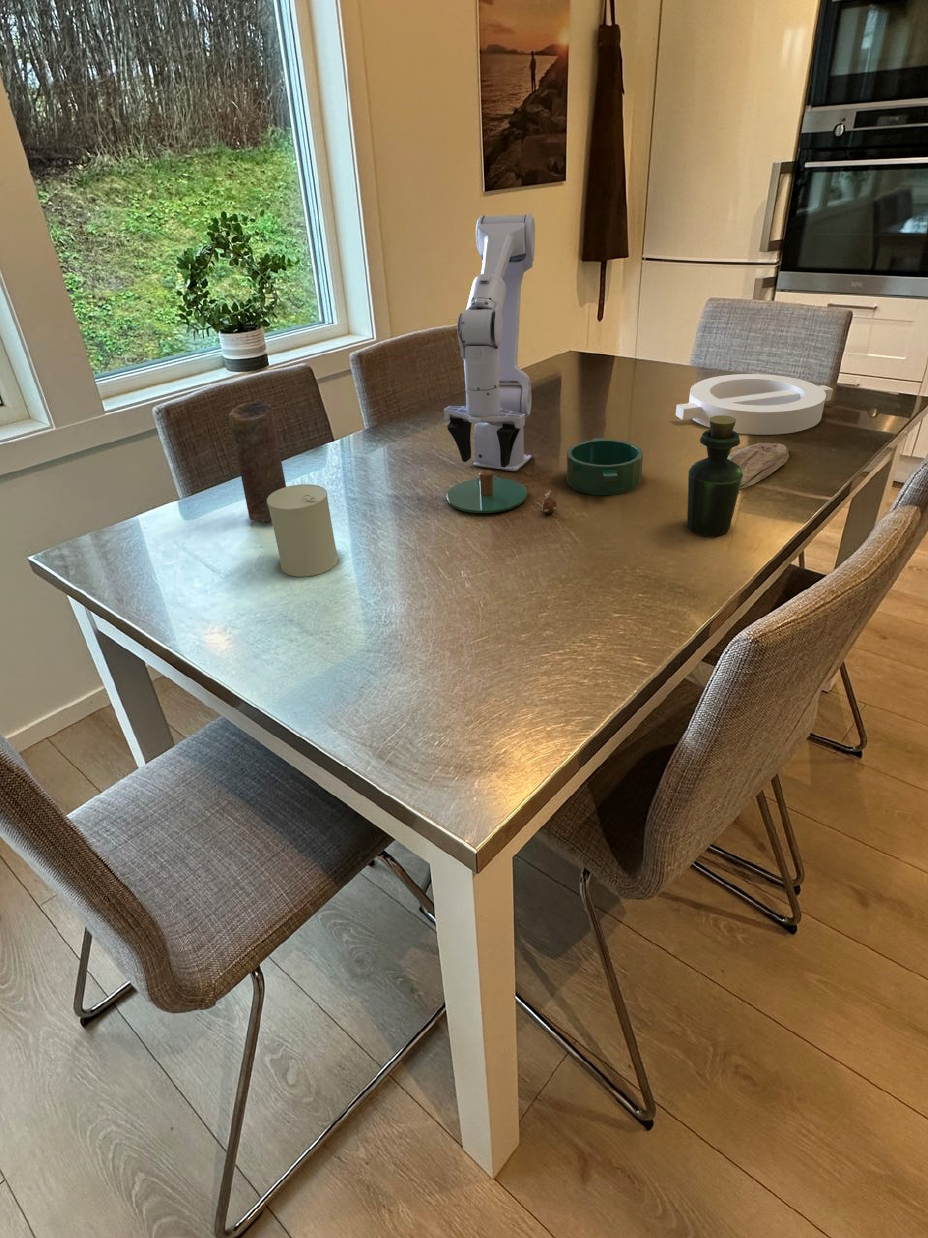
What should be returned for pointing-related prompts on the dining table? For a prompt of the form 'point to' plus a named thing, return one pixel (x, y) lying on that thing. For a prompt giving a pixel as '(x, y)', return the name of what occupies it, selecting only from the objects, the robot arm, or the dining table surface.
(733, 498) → the potion bottle
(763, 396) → the white circle with bar
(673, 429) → the dining table surface
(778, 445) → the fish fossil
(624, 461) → the pot
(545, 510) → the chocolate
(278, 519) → the can
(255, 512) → the candle
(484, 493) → the pot lid
